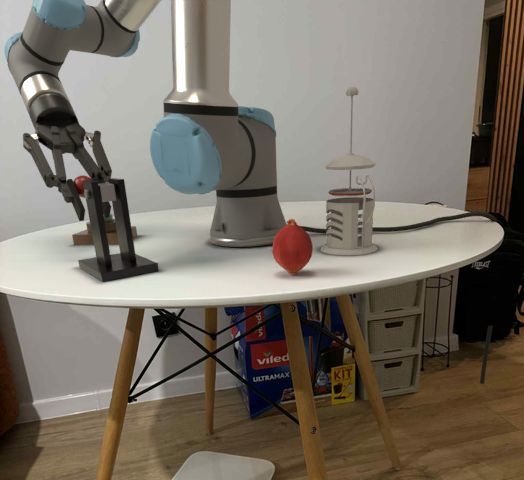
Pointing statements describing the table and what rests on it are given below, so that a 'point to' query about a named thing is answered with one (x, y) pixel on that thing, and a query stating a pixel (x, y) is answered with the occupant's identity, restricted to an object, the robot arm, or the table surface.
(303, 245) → the onion
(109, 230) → the button block
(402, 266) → the table surface
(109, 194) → the lever
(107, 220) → the button
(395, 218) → the table surface
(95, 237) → the bracket
